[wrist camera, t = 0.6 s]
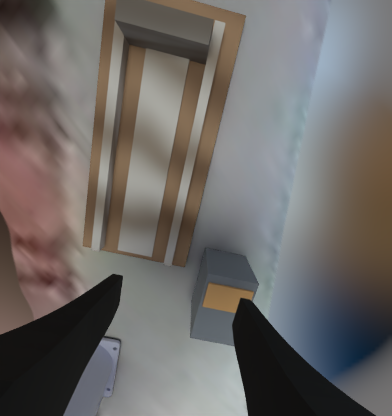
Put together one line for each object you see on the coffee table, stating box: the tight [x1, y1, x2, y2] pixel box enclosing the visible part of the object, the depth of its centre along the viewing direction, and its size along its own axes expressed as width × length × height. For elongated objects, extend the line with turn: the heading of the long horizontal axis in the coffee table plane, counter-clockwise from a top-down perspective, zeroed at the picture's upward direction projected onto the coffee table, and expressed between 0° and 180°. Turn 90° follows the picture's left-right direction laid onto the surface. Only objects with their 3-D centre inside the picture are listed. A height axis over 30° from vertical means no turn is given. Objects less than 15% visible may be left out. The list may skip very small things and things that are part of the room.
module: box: [190, 248, 259, 346], centre depth 20 cm, size 7×4×5 cm, turn 167°
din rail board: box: [83, 0, 246, 267], centre depth 17 cm, size 23×11×4 cm, turn 167°
